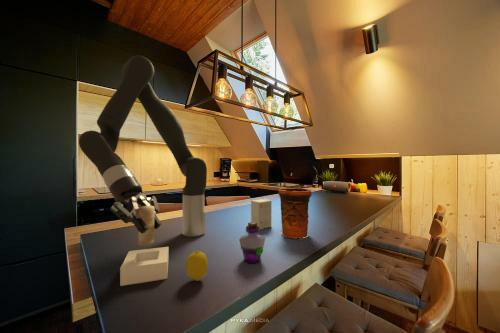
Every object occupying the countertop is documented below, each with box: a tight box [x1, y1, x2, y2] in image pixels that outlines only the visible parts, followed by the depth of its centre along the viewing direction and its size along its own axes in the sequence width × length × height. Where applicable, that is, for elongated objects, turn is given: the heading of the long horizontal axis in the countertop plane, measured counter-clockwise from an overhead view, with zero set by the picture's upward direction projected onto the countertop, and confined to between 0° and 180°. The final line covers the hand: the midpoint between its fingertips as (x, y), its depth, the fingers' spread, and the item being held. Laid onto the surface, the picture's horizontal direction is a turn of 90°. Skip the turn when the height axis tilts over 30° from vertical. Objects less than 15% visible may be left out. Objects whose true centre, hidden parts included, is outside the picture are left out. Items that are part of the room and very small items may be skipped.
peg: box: [137, 206, 155, 246], centre depth 60 cm, size 4×4×10 cm
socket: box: [119, 246, 170, 287], centre depth 61 cm, size 11×11×4 cm
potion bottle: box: [239, 221, 266, 265], centre depth 69 cm, size 9×9×12 cm
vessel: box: [277, 187, 313, 240], centre depth 94 cm, size 14×14×20 cm
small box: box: [250, 198, 272, 231], centre depth 104 cm, size 8×6×13 cm
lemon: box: [185, 249, 209, 282], centre depth 56 cm, size 6×6×8 cm
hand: (151, 229), depth 60 cm, fingers closed on peg, 4 cm apart
